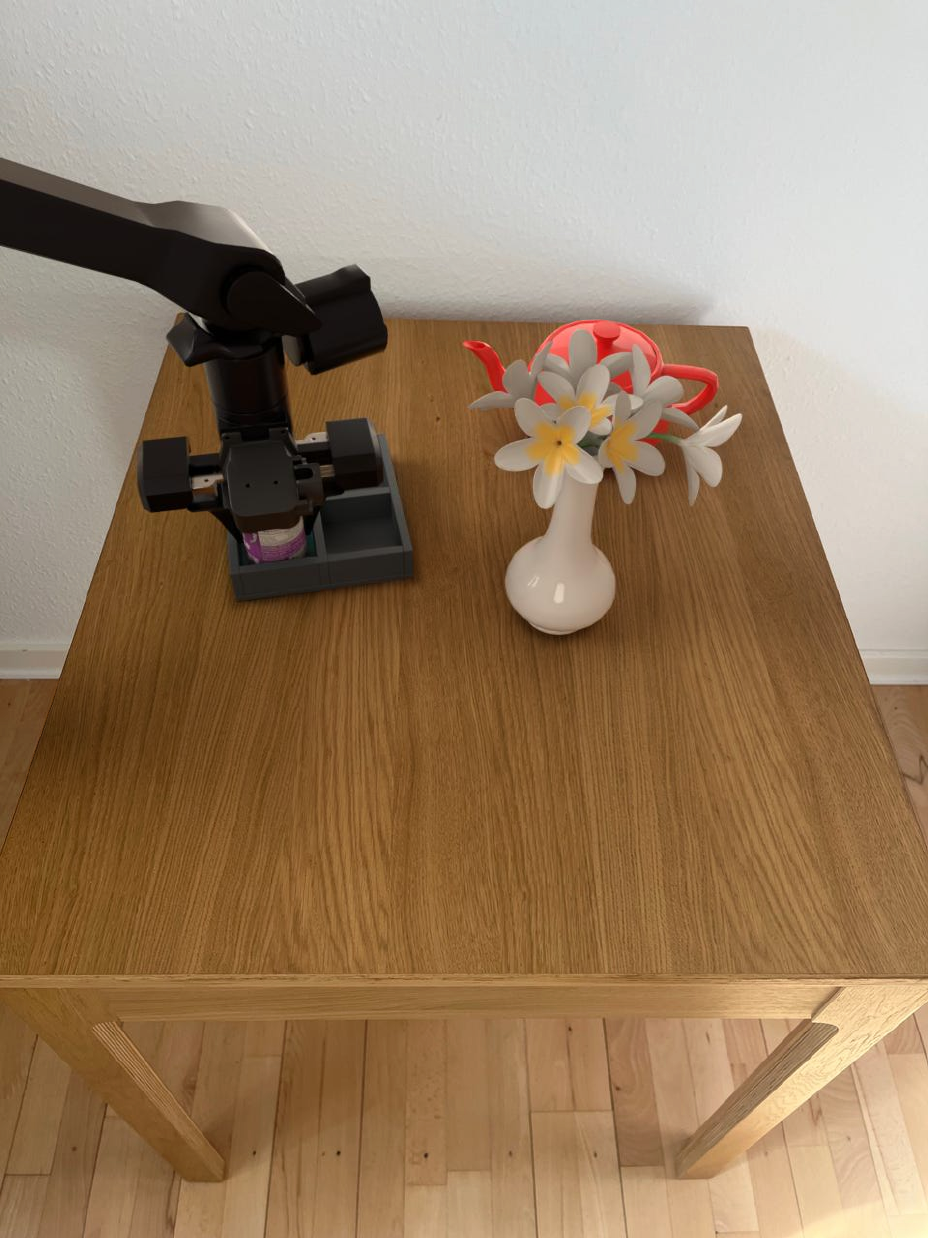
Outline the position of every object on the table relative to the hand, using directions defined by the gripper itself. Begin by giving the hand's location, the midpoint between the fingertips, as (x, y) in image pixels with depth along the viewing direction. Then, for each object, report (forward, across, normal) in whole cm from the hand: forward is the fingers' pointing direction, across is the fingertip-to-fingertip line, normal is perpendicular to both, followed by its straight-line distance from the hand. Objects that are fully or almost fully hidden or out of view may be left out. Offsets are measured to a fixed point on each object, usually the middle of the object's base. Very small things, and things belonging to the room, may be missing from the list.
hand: (274, 535), depth 81 cm
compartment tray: (+3, +4, +4) cm, 6 cm away
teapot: (+3, +32, +13) cm, 34 cm away
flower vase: (+4, +24, -9) cm, 26 cm away
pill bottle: (+3, 0, 0) cm, 3 cm away
